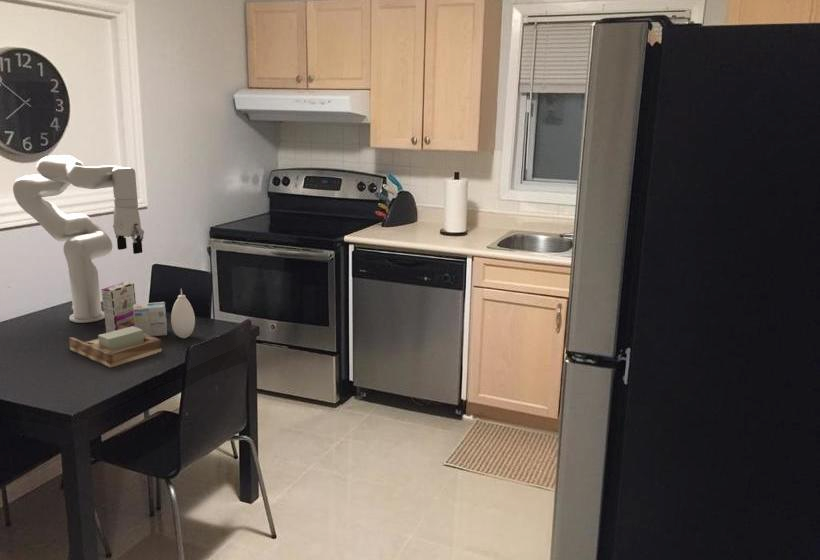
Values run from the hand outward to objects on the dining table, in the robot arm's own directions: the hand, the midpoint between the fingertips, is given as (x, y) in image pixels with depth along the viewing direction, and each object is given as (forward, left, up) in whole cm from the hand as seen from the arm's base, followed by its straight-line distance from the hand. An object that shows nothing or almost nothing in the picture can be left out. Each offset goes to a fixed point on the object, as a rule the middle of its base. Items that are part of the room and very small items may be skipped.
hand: (130, 251), depth 233 cm
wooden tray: (+17, -18, -28) cm, 38 cm away
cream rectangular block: (+21, -18, -27) cm, 39 cm away
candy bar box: (-1, -5, -28) cm, 29 cm away
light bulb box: (+11, -1, -29) cm, 31 cm away
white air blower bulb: (+23, +4, -28) cm, 37 cm away
